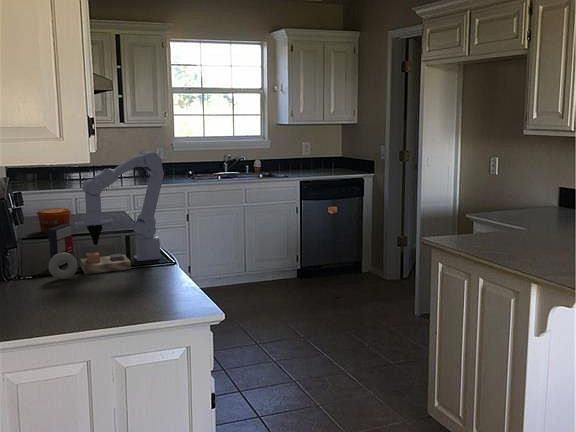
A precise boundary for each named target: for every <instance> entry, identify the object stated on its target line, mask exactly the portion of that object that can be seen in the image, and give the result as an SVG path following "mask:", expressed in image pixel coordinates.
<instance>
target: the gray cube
mask: <svg viewBox="0 0 576 432" xmlns="http://www.w3.org/2000/svg"><path fill="white" fill-rule="evenodd" d="M123 255H124V254H122V253H116V254H110V255H109V256H110V260H111V261H118V260H124V256H123Z"/></svg>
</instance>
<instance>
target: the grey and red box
mask: <svg viewBox="0 0 576 432" xmlns="http://www.w3.org/2000/svg"><path fill="white" fill-rule="evenodd" d="M47 232H48V234H47V240H48V241H49V253H50V254H49V255H50V259H51V258H52V257H53V256H54V255H56V254H58V253H62V252H64V253H69V254H71V255H73V256H74V249H73V236H72V225H71V224H69V225H67V224H62V225H59V226H56V227H53V228H50V229H48V230H47ZM66 264H67V263H66V262H60V263H59V265H58V267H59V268H60V267H61V266H64V265H66Z"/></svg>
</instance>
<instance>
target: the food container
mask: <svg viewBox="0 0 576 432" xmlns="http://www.w3.org/2000/svg"><path fill="white" fill-rule="evenodd" d="M71 215H72V211H71V210H70V209H69V208H61V207H56V208H55V207H54V208H44V209H41V210H38V211H37V212H36V216H37V218H38V221H39V227H40V232H41V234H43V233H44V234H43V235H45V234H46V235H48V232H47V230H48V229H50V228H53V227H56V226H59V225H62V224H67V225H70V218H71Z"/></svg>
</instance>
